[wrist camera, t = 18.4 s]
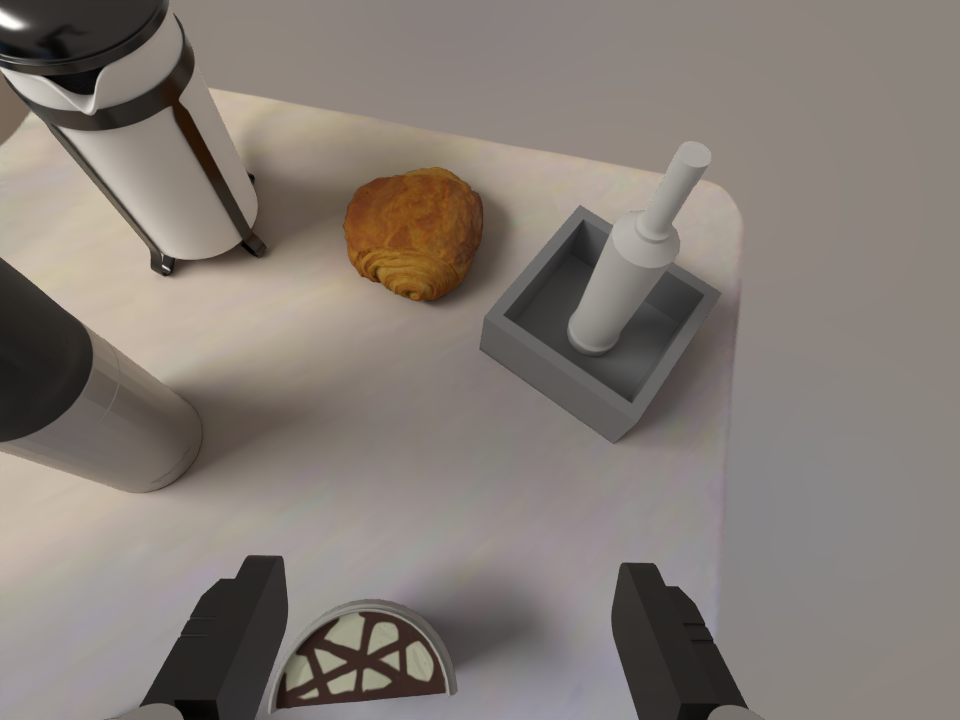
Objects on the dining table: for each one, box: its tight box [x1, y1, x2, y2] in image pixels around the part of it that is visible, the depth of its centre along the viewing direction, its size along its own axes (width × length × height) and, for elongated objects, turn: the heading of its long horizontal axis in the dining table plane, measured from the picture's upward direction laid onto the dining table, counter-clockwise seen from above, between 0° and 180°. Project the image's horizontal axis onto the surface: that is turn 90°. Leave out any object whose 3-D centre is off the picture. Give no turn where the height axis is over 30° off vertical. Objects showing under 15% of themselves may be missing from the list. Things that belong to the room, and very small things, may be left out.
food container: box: [267, 599, 457, 714], centre depth 41 cm, size 12×6×10 cm, turn 94°
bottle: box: [567, 141, 712, 357], centre depth 45 cm, size 5×5×25 cm
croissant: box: [343, 167, 483, 301], centre depth 58 cm, size 14×16×8 cm
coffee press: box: [0, 0, 267, 276], centre depth 46 cm, size 17×16×30 cm
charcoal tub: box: [480, 205, 721, 444], centre depth 54 cm, size 16×16×7 cm
